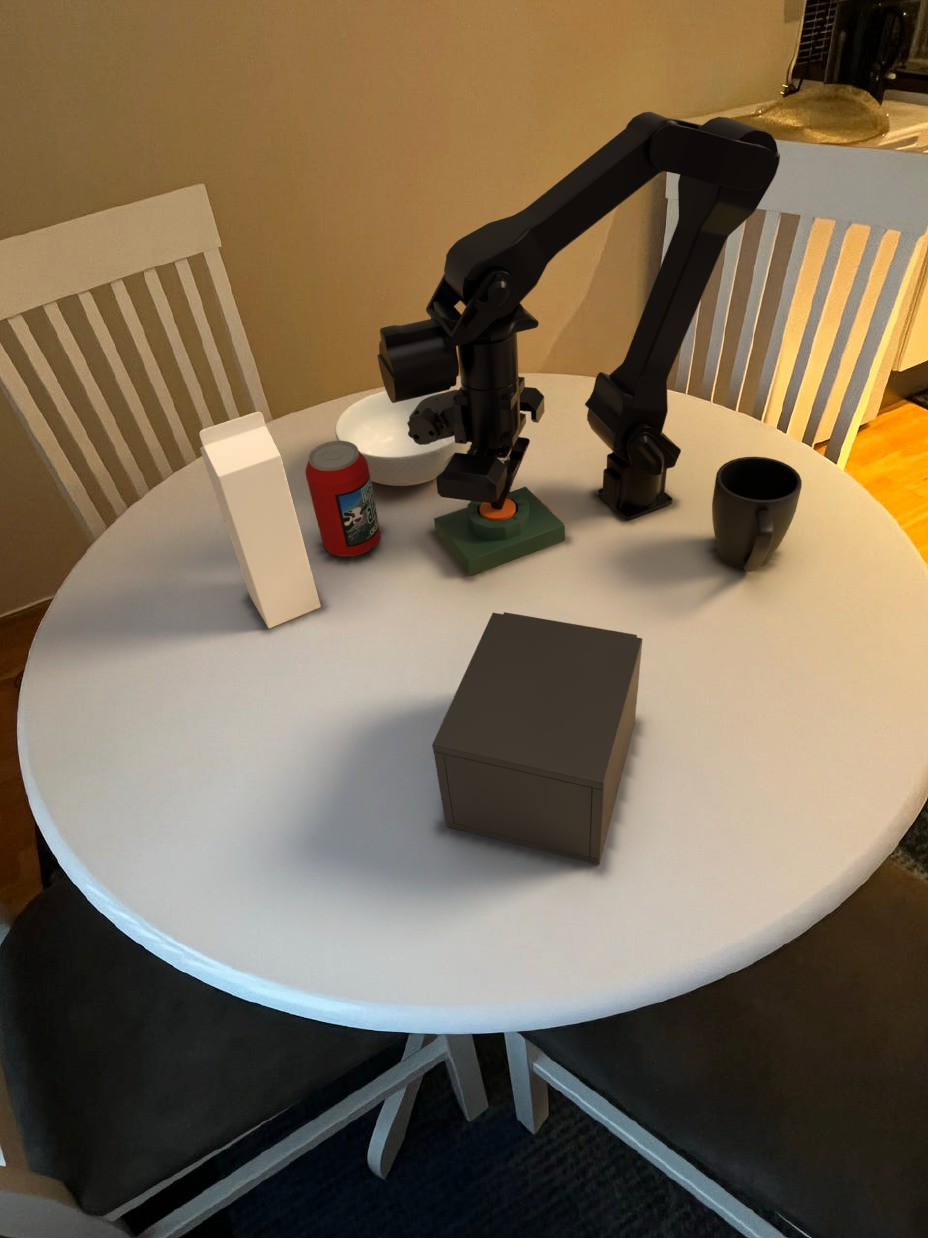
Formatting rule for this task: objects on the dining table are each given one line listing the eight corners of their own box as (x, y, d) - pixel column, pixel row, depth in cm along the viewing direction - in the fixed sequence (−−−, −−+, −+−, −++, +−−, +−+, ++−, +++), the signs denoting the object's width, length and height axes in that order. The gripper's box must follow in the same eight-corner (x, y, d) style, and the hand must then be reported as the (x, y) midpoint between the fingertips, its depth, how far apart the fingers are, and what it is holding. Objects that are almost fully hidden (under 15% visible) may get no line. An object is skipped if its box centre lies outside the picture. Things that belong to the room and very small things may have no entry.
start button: (505, 505, 95) (504, 493, 94) (522, 523, 93) (522, 510, 91) (474, 516, 94) (473, 504, 93) (490, 535, 91) (489, 522, 90)
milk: (321, 608, 89) (274, 424, 73) (267, 630, 87) (208, 446, 72) (300, 577, 93) (252, 397, 77) (249, 597, 91) (188, 417, 76)
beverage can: (372, 563, 93) (354, 472, 85) (315, 559, 95) (292, 469, 86) (388, 527, 98) (372, 438, 90) (334, 524, 99) (313, 435, 91)
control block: (526, 501, 100) (525, 473, 97) (565, 540, 94) (565, 511, 91) (435, 533, 96) (431, 505, 94) (469, 576, 90) (467, 547, 88)
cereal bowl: (354, 517, 100) (343, 467, 95) (337, 448, 112) (327, 400, 107) (490, 489, 102) (486, 439, 97) (459, 424, 114) (454, 376, 109)
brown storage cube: (499, 696, 77) (492, 612, 70) (634, 723, 74) (642, 637, 66) (445, 826, 67) (431, 744, 60) (599, 865, 64) (604, 783, 57)
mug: (706, 599, 85) (718, 523, 78) (704, 527, 93) (714, 454, 87) (791, 604, 83) (811, 527, 77) (781, 531, 92) (797, 457, 85)
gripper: (445, 330, 90) (457, 454, 101) (376, 416, 78) (399, 548, 88) (544, 337, 87) (546, 465, 98) (490, 428, 74) (499, 563, 85)
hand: (497, 507), depth 92 cm, fingers closed, pressing on start button
